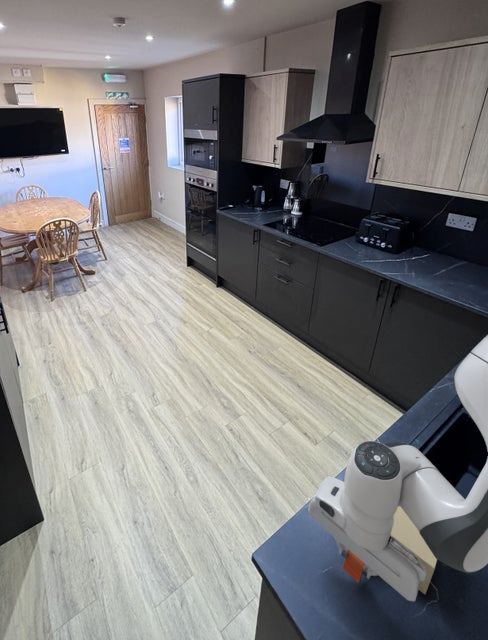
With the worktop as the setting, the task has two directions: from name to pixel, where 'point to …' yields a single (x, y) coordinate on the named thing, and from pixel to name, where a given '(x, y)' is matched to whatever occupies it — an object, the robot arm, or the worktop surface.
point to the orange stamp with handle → (353, 566)
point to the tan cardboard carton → (413, 544)
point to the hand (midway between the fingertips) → (354, 562)
